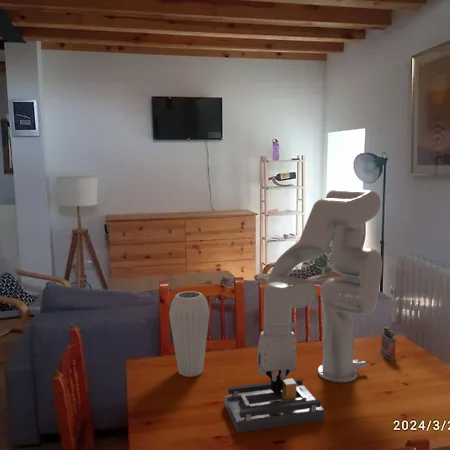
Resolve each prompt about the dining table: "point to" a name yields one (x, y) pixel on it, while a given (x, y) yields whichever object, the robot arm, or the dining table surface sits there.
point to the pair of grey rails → (275, 408)
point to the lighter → (388, 344)
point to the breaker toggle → (289, 389)
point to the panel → (270, 420)
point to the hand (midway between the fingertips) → (276, 392)
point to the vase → (189, 331)
